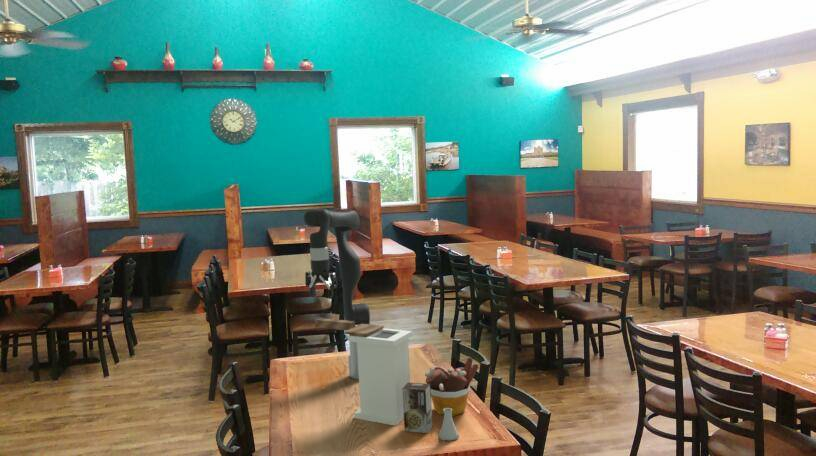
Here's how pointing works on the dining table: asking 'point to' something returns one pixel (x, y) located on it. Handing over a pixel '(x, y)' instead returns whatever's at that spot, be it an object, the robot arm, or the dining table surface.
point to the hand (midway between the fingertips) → (322, 297)
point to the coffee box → (417, 407)
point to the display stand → (382, 374)
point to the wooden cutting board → (348, 326)
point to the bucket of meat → (450, 387)
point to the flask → (448, 427)
